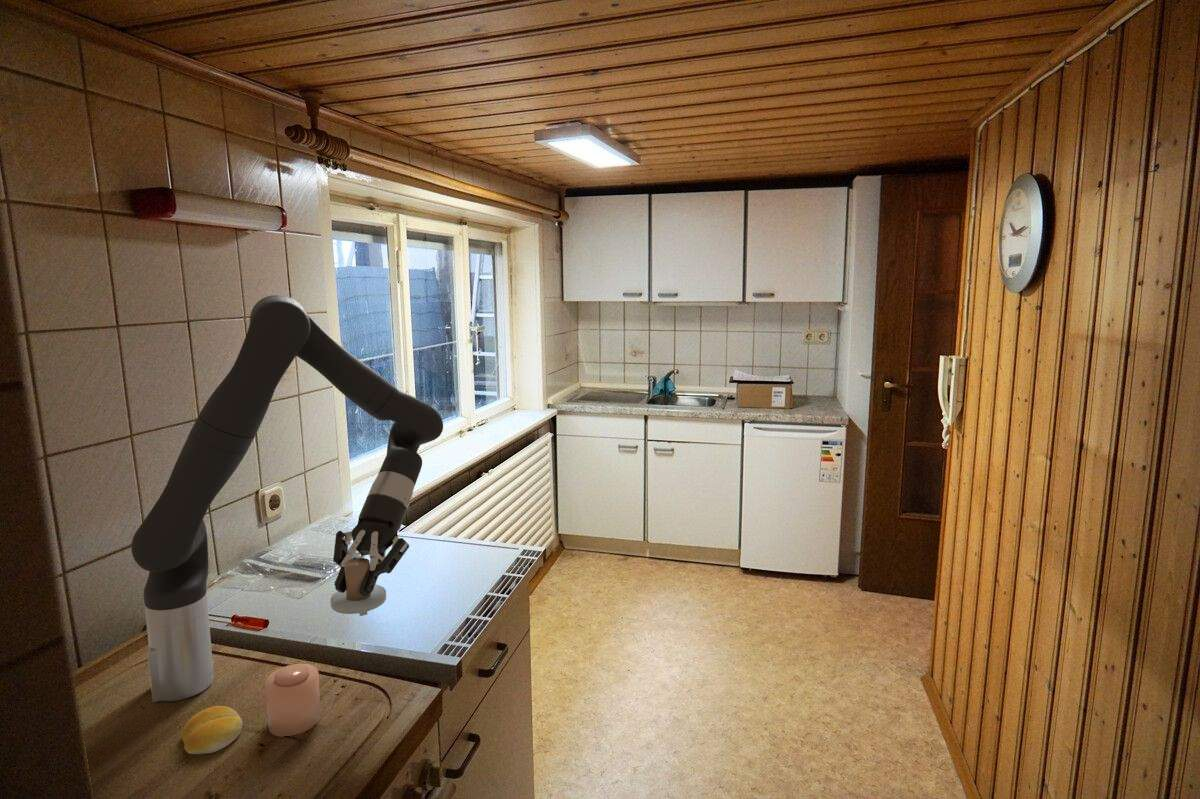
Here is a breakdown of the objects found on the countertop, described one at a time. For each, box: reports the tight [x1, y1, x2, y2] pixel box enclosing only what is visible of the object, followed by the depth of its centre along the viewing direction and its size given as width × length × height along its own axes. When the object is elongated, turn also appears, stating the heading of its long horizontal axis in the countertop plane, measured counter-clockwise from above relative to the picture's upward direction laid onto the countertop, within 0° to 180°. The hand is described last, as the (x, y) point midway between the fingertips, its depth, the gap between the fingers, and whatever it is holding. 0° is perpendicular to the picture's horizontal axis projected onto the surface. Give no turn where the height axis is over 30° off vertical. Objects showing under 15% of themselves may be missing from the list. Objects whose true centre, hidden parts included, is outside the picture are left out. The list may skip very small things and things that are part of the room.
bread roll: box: [181, 705, 243, 755], centre depth 103 cm, size 8×9×4 cm
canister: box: [264, 663, 321, 738], centre depth 107 cm, size 8×8×9 cm
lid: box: [330, 557, 387, 617], centre depth 109 cm, size 9×9×8 cm
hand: (351, 592), depth 108 cm, fingers closed on lid, 4 cm apart
